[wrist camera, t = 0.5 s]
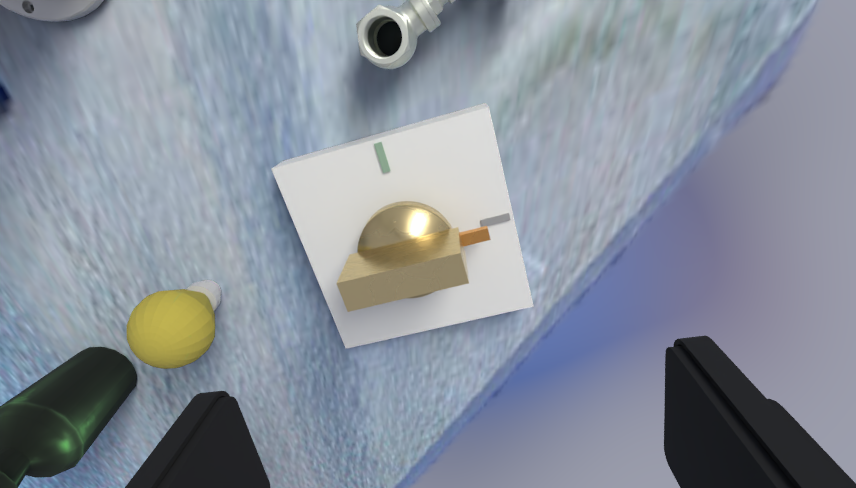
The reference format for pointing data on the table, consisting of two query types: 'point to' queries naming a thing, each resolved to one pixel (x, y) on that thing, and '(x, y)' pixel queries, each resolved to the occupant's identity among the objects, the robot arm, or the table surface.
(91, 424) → the potion bottle
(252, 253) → the table surface
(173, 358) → the light bulb
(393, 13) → the valve
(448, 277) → the knob
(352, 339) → the base plate
